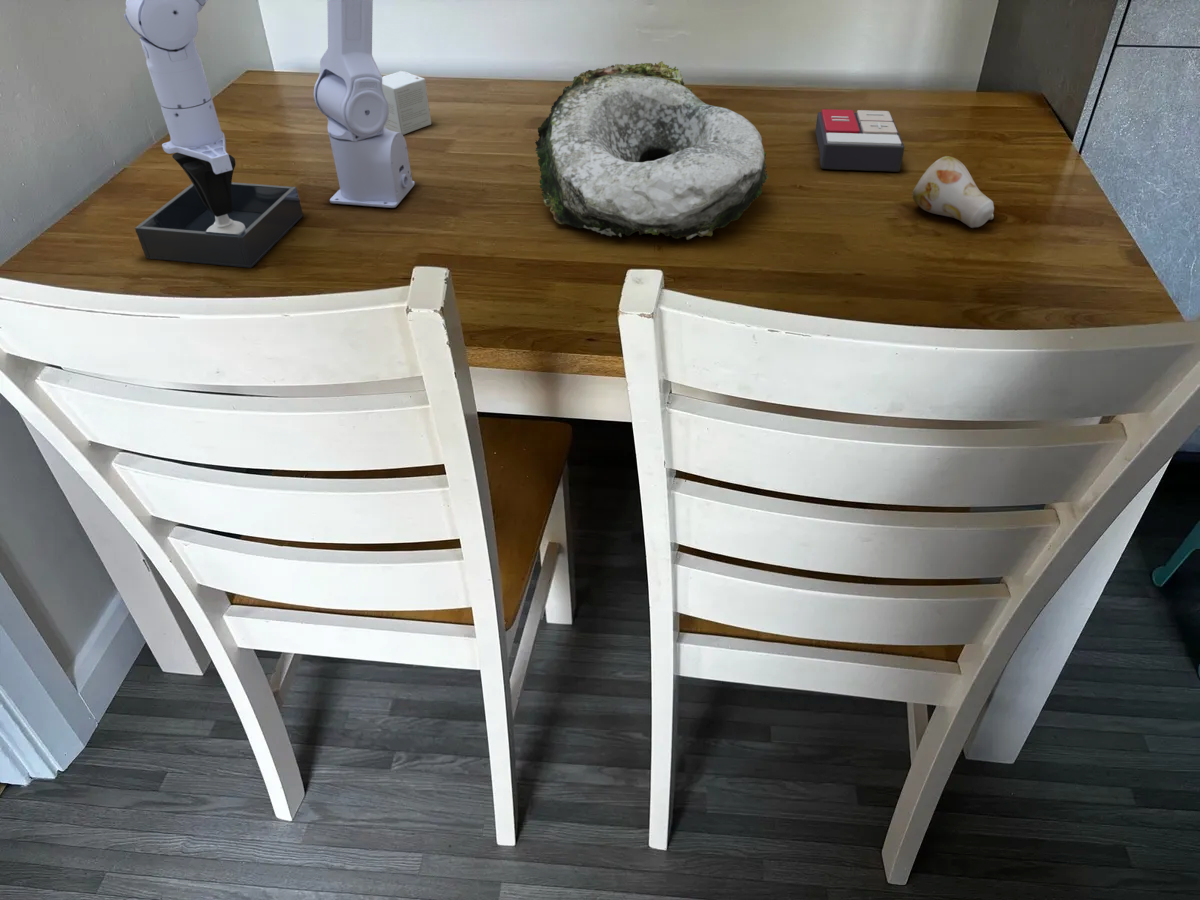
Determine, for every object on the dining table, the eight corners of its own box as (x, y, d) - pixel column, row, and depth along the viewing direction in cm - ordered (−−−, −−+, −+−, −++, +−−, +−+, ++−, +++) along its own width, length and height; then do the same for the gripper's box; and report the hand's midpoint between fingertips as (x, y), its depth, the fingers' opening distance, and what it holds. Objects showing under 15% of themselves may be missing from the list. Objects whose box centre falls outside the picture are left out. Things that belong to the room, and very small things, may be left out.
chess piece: (234, 244, 113) (211, 167, 107) (199, 241, 114) (173, 165, 108) (253, 227, 117) (232, 151, 111) (219, 224, 118) (196, 149, 111)
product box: (409, 116, 148) (402, 69, 143) (432, 125, 144) (426, 78, 139) (378, 126, 144) (370, 79, 139) (401, 136, 141) (393, 88, 136)
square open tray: (303, 216, 120) (296, 186, 117) (251, 268, 109) (242, 237, 107) (206, 208, 122) (196, 179, 120) (146, 258, 112) (134, 227, 109)
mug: (975, 243, 112) (950, 168, 108) (918, 245, 120) (893, 176, 117) (1016, 213, 114) (992, 138, 110) (957, 217, 122) (933, 149, 119)
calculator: (892, 108, 137) (906, 141, 125) (887, 137, 139) (900, 172, 127) (818, 106, 138) (825, 138, 126) (814, 134, 140) (821, 169, 128)
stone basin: (641, 88, 134) (665, -2, 121) (781, 221, 127) (823, 140, 114) (484, 164, 122) (493, 73, 108) (629, 316, 114) (657, 238, 101)
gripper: (130, 92, 107) (167, 200, 116) (172, 126, 98) (209, 240, 107) (189, 78, 110) (221, 184, 119) (235, 111, 102) (265, 222, 110)
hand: (219, 210), depth 113 cm, fingers closed on chess piece
